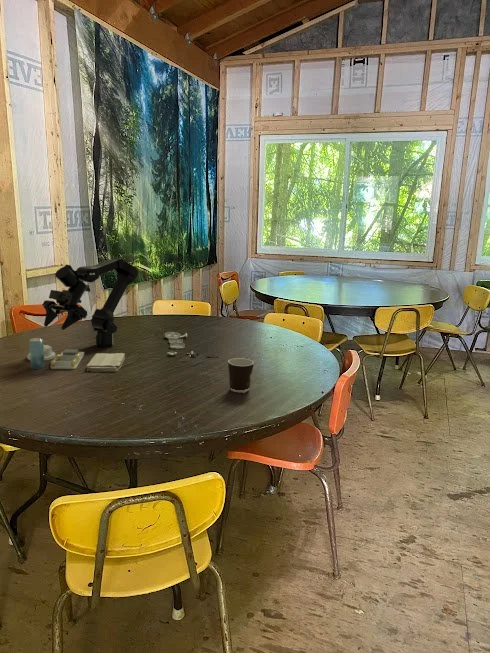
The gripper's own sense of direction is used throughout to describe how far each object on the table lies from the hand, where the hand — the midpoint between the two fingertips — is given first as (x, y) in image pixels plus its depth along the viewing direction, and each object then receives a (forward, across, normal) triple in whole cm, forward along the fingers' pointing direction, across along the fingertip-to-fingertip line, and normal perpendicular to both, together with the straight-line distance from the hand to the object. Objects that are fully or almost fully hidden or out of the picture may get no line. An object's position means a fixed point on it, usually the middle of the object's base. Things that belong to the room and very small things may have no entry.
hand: (53, 327), depth 172 cm
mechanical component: (+10, -8, +9) cm, 16 cm away
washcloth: (+5, +18, +16) cm, 24 cm away
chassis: (+8, +4, +11) cm, 14 cm away
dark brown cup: (+1, +72, +21) cm, 75 cm away
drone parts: (-23, +29, +46) cm, 59 cm away
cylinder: (+15, 0, +3) cm, 16 cm away
